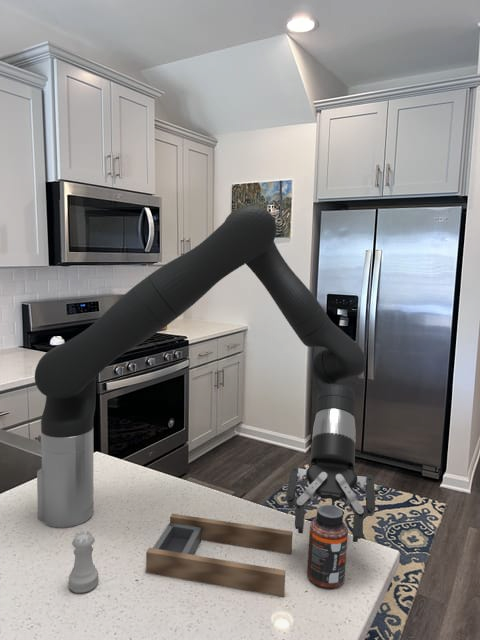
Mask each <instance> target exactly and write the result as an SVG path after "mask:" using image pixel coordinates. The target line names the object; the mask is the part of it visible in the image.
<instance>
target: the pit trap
mask: <svg viewBox="0 0 480 640" xmlns="http://www.w3.org/2000/svg"><path fill="white" fill-rule="evenodd" d="M201 531H202V528H201V527H194V526H188V525H181V524H175V523H170V522H169V523H168V524H167V526H166V527H165V528H164V531H163V532H162V533H161V535H160V536H159V538H158V540H157V541H156V542H155V544H154V545H153V547H152V548H154V549H160V550H166V551H173V552H179V553H185V554H191V555H196V552H197V550H198V548H199V547H200V544H201V542H202V540H201Z"/></svg>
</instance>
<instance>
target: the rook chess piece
mask: <svg viewBox="0 0 480 640" xmlns="http://www.w3.org/2000/svg"><path fill="white" fill-rule="evenodd" d="M94 542H95V537H94V536H93V532H91V531H90V530H87V531H86V532H85V530H80V533H79V532H77V533H76V534H75V536H74V538H73V540H72V542H71V545H72V546H73V548H74V550H73V555H74V563H73V567H72V569H71V571H70V573H69V576H68V582H67V584H68V585H67V586H68V588H69V589H70V591H72V592H73V593H75V594H76V593H77V594H85V593H88V592H90V591H92V590H93V589H94V588H96V586H98V583H99V582H100V581H99V580H100V578H99V570H98V569H97V568H96V566H95V564H94V561H93V551H94V547H93V545H94Z"/></svg>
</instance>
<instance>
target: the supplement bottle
mask: <svg viewBox="0 0 480 640" xmlns="http://www.w3.org/2000/svg"><path fill="white" fill-rule="evenodd" d="M348 530H349V529H348V527H347V524H346V523H345V522H344V513H343V510H342V509H341V508H340V507H338V506H336V505H332V504H331V505H330V504H324V505H320V506H318V508H317V511H316V517H315V518H313V519H312V520H311V522H310V526H309V536H308V551H307V564H306V565H307V566H306V567H307V568H306V569H307V570H306V571H307V572H306V573H307V576H308V578H309V580H310V581H311V582H312V583H313V584H315V585H317V586H318V587H321V588H329V589H332V588H337V587H339V586H341V585H342V584H343V583H344V581H345V576H346V562H347V550H348V536H349V531H348Z"/></svg>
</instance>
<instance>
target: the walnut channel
mask: <svg viewBox="0 0 480 640" xmlns="http://www.w3.org/2000/svg"><path fill="white" fill-rule="evenodd" d="M169 523H175V524H181V525H188V526H194V527H201V528H202V531H201V541H206V542H210V543H211V542H212V543H217V544H222V545H223V544H224V545H230V546H237V547H243V548H249V549H253V550H261V551H268V552H275V553H280V554H286V555H292V552H293V549H292V548H293V533H294V532H293V531H292V530H285V529H278V528H272V527H265V526H260V525H259V526H258V525H253V524H252V525H251V524H244V523H239V522H231V521H224V520H217V519H211V518H205V517H200V516H199V517H196V516H190V515H186V514H179V513H171V515H170V517H169ZM145 552H146V553H145V573H146V574H153V575H157V576H158V575H159V576H163V577H170V578H175V579H181V580H187V581H192V582H196V583H197V582H198V583H203V584H207V585H208V584H209V585H214V586H220V587H226V588H230V587H231V588H232V589H236V590H242V591H248V592H249V591H250V592H253V593H259V594H266V595H271V596H277V597H282V598H284V597H285V589H286V571H287V570H286V569H281V568H280V569H279V568H273V567H268V566H262V565H256V564H249V563H245V562H238V561H234V560H233V561H231V560H226V559H219V558H215V557H208V556H202V555H197V554H194V555H191V554H185V553H179V552H173V551H166V550H160V549H154V548H153V547H148V548H147V550H146V551H145Z"/></svg>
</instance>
